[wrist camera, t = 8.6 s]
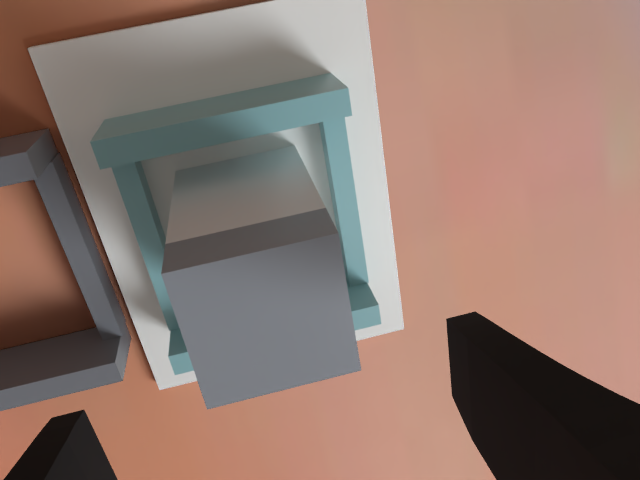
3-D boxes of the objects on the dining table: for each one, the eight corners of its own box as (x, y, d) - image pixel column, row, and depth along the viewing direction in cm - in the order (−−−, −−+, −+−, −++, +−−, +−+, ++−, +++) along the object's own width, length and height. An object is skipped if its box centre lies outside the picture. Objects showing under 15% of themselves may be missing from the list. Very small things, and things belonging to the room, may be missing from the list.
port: (160, 383, 23) (154, 437, 20) (31, 46, 17) (-1, 61, 14) (401, 323, 23) (425, 367, 21) (360, -17, 18) (387, -14, 15)
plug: (206, 274, 20) (207, 409, 14) (175, 170, 19) (161, 273, 12) (314, 249, 21) (361, 370, 15) (294, 144, 19) (338, 232, 13)
